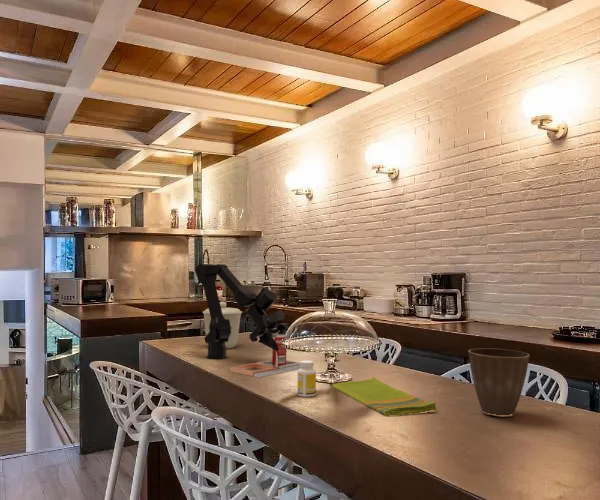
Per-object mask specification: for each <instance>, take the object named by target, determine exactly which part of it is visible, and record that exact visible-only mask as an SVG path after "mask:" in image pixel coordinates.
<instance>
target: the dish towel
mask: <svg viewBox="0 0 600 500" xmlns="http://www.w3.org/2000/svg"><path fill="white" fill-rule="evenodd" d="M331 387H332V388H333V389H335V390H336V391H339V392H341V393H343V394H345V395H347V396H348V397H350V398H352V399H354V400H355V401H357V402H358V401H359V402H358V403H360V402H361V404H362V403H363V404H362V405H364V406H366V407H368V408H369V409H372V410H373V411H375V412H377V413H378V414H380V415H383V414H384V415H383V416H385V417H391V416H390V415H400V416H403V415H402V414H409V413H420V412H425V411H430V410H436V411H437V408H436V402H434V401H426V400H424V399H421V398H419V397H416V396H415V395H412V394H410V393H407V392H406V391H403V390H401V389H397V388H395V387H393V386H390V385H388V384H386V383H384V382H382V381H380V380H379V379H377V378H375V376H373V377H371V378H370V379H363V380H357V381H356V380H354V381H353V380H352V381H344V382H343V381H342V382H337V383H334V384H333V385H332V386H331Z"/></svg>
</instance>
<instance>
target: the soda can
mask: <svg viewBox="0 0 600 500" xmlns="http://www.w3.org/2000/svg"><path fill="white" fill-rule="evenodd" d="M284 336H286V334H274V336H273V335H272V338H273V339H274V341H275V343H276V344H277V346H278V348H279V350H278V351H276V350H274V349H272V348H271V350H272V351H271V353H272V355H271V358H272V359H271V360H272V365H275V366H284V365H286V360H287V349H285V348H283V347H282V346H281V341H282V339H283V338H284Z"/></svg>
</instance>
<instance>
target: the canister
mask: <svg viewBox="0 0 600 500" xmlns="http://www.w3.org/2000/svg"><path fill="white" fill-rule="evenodd" d="M219 302H220V306H221V310H222V314H223V317H224V318H225V319H229V321H230V326H231V328H232V329H231V334H230V336H229V339H228V342H225V346H226V350H227V349H233V348H234V347H236V345H237V343H238V340H239V339H238V338H239V332H240V323H241V315H242V313H243V311H242V310H240V309H239V308H235V307H227V302H226V301H219ZM202 314H203V317H204V329H205V330H204V331H205V336H206V335H207V334H208V333H209V332H210V330H209V325H210V321H211V316H210V312H209V308H206V309H205V310H204V311H202ZM206 344H207V345H208V343H206Z"/></svg>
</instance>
